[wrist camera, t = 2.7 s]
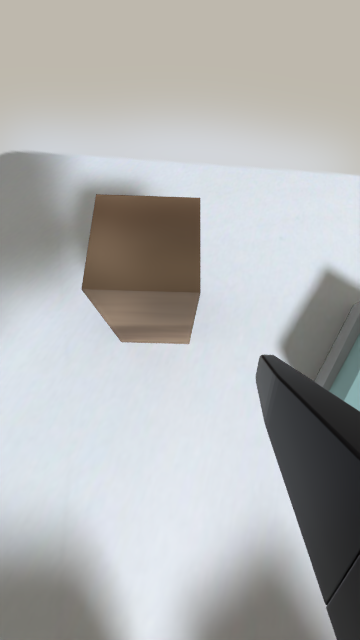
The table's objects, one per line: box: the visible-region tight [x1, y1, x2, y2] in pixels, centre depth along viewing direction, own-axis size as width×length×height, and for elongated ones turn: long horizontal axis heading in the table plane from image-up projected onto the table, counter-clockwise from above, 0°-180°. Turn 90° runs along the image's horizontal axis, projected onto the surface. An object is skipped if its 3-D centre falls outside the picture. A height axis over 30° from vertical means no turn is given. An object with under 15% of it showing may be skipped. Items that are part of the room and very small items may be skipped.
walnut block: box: [82, 194, 200, 344], centre depth 18 cm, size 6×6×10 cm
